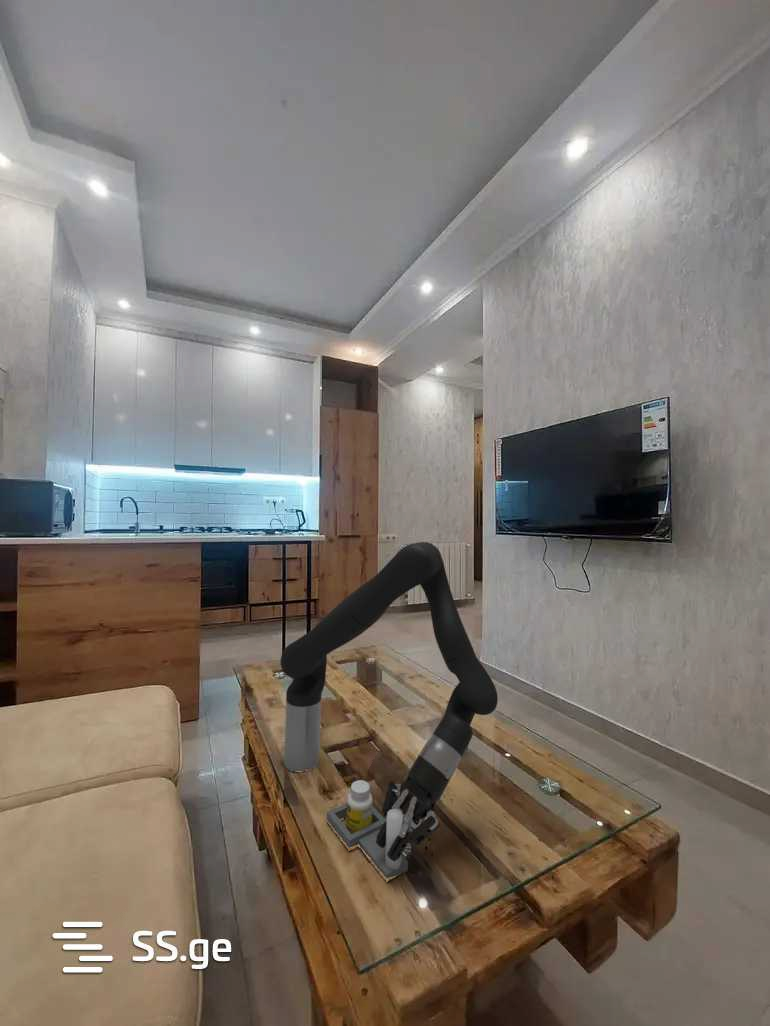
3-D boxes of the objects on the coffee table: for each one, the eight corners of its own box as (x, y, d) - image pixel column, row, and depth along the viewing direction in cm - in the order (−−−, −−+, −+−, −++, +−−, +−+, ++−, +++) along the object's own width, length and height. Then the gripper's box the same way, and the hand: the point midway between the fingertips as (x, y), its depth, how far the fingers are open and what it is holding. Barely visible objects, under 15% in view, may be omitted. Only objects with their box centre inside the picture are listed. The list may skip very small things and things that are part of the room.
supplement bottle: (341, 829, 92) (342, 784, 92) (360, 817, 96) (362, 774, 95) (356, 845, 88) (358, 798, 88) (376, 832, 92) (378, 787, 91)
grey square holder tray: (326, 822, 93) (328, 773, 93) (362, 806, 99) (364, 759, 99) (376, 889, 78) (379, 829, 78) (416, 865, 83) (418, 809, 83)
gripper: (403, 741, 92) (353, 821, 84) (451, 775, 80) (397, 871, 73) (421, 757, 95) (374, 835, 88) (469, 793, 84) (419, 886, 76)
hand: (385, 851), depth 81 cm, fingers closed on grey square holder tray, 3 cm apart
